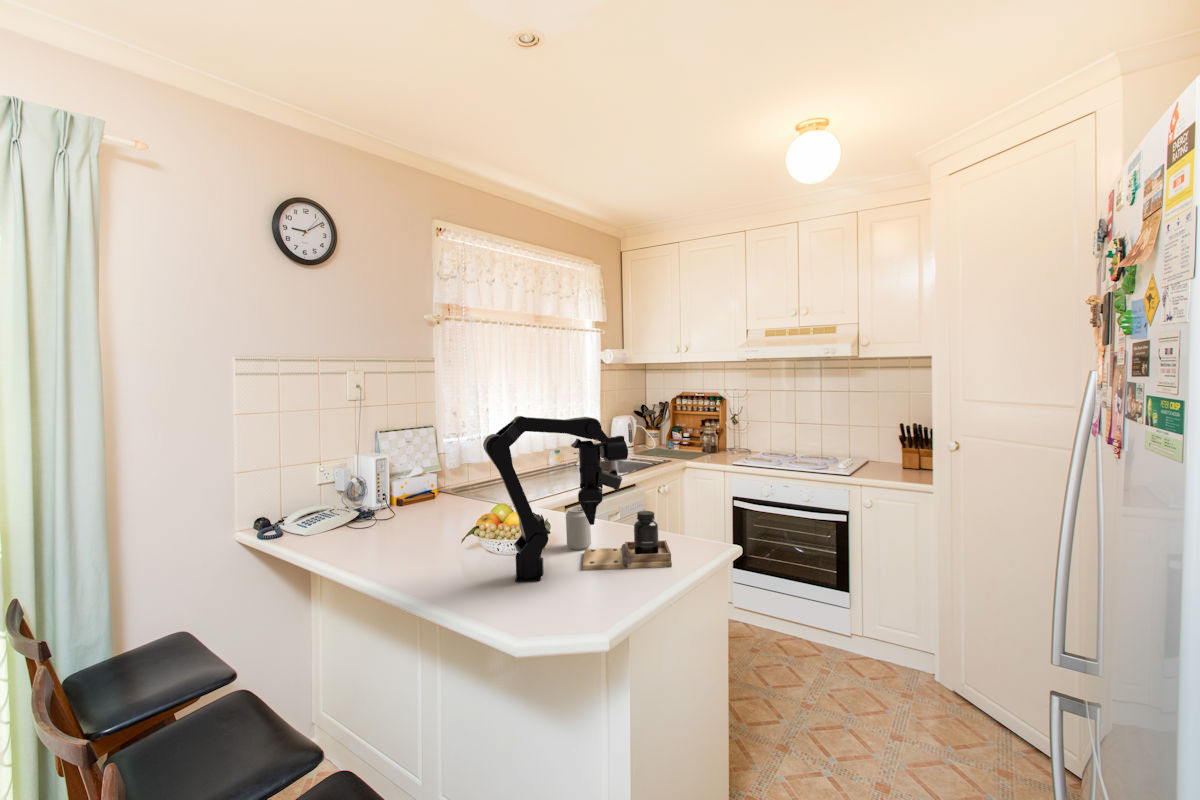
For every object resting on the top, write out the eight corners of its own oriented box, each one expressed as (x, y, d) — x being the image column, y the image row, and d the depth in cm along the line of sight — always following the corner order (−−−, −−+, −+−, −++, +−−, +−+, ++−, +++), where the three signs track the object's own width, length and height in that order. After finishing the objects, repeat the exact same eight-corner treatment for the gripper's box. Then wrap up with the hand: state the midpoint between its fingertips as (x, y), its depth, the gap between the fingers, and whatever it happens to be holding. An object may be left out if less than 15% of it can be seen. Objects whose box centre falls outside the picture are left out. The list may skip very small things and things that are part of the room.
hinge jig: (583, 570, 143) (582, 558, 143) (585, 553, 157) (584, 542, 157) (671, 566, 143) (671, 554, 143) (665, 550, 157) (665, 539, 157)
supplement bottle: (645, 560, 145) (644, 517, 145) (629, 554, 150) (628, 512, 150) (664, 554, 149) (662, 512, 149) (647, 549, 155) (646, 508, 154)
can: (590, 550, 159) (589, 511, 159) (566, 551, 159) (564, 511, 159) (591, 542, 167) (590, 505, 166) (568, 543, 167) (566, 505, 166)
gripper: (620, 467, 135) (623, 528, 135) (618, 457, 153) (620, 510, 154) (576, 469, 135) (579, 530, 135) (580, 458, 153) (582, 511, 154)
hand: (592, 520), depth 145 cm, fingers open, 9 cm apart
